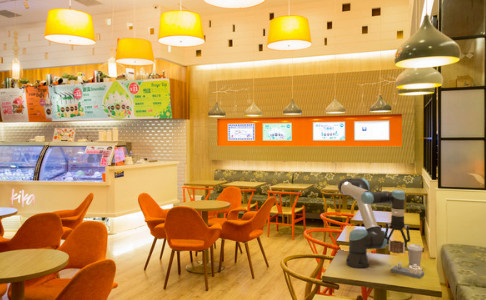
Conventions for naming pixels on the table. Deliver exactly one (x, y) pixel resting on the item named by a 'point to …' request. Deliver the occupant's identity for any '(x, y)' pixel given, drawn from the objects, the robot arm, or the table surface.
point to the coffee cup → (414, 254)
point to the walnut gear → (396, 247)
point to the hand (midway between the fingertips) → (396, 251)
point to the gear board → (408, 270)
